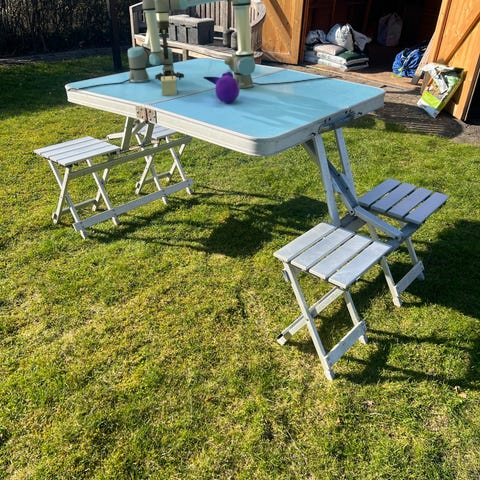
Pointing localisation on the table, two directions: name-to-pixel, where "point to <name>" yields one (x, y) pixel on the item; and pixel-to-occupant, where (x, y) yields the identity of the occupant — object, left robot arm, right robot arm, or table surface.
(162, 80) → the beige boxy piece
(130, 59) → the left robot arm
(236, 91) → the toy
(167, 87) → the chest
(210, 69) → the table surface
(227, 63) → the teapot
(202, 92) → the table surface
